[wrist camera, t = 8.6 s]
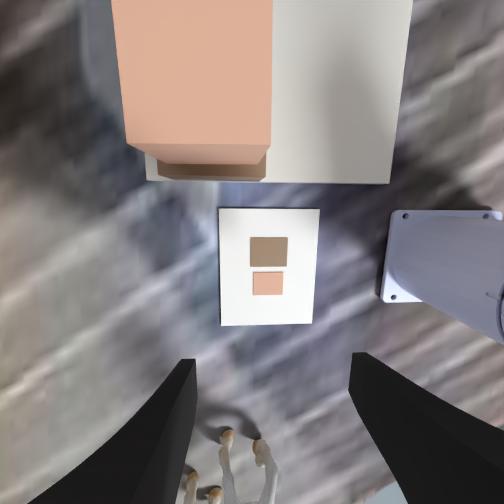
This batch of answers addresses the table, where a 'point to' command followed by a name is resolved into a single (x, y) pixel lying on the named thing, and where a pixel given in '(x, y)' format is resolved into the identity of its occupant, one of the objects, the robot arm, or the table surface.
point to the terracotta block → (196, 78)
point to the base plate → (333, 91)
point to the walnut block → (213, 171)
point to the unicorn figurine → (230, 497)
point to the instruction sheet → (267, 265)
